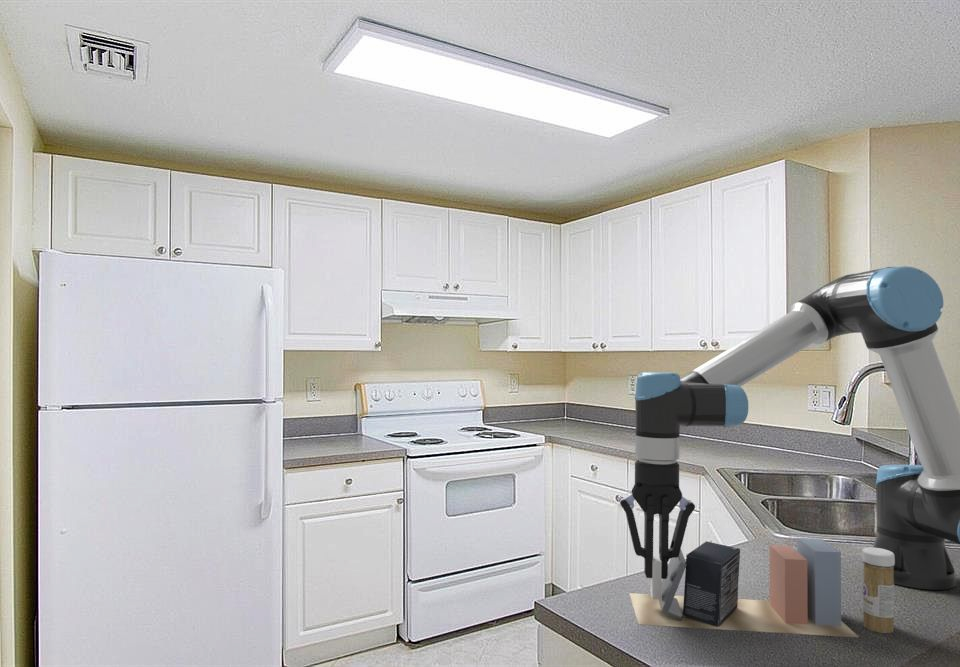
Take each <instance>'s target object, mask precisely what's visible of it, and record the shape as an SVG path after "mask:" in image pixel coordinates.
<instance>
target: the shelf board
mask: <svg viewBox="0 0 960 667" xmlns="http://www.w3.org/2000/svg"><path fill="white" fill-rule="evenodd" d="M628 594H629V597H630V600H631V604H632V606H633V610H634V613H635V617H636V621H637V623H638V625H641V626H655V627H656V626H659V627H673V628H674V627H675V628H690V629H691V628H692V629H693V628H694V629H709V630H726V631H740V632H741V631H743V632H757V633H758V632H760V633H774V634H775V633H776V634H794V635H808V636H809V635H810V636H827V637H842V638H843V637H845V638H859V635H858V634H856V633H855V632H854V631H853V630H852V629H851V628H850V627H848V625H847V624H845V623H844V622H843V621H842V620H841V626H827V625H815V624H814V623H813V622H812V621H811V620H810V618H809V617H808V624H792V623H785V622H784V621H783V620H782V619H781V617H780V616H779V615H778V614H777V613H776V612H775V610H774V609H773V608H772V607H771V606H770V600H767V599H766V600H765V599H764V600H763V599H745V598H742V599H741V598H738V605H737V606H738V607H737V608H736V609H735V610H734V612H733V613H732V614H731V615H730V616H729V617H728V618H727V619H726V620H725V621H724V622H723V623H722V624H721V625H720V626H719V627H718V626H715V625H711V624H708V623H705V622H702V621H699V620H696V619H693V618H690V617H687V616H684V615H683V605H684V595H675V596H674V598H676V599H677V600H678V603H679V606H680V610H681V613H682V617H683V619H682V621H681V620H679V619H676V618H674V617H672V616H670V615H667V614H665V613H663V612H661V608H660V603H659V600H656V599H652V597H651V594H650V593H634V592H631V593H630V592H629V593H628Z"/></svg>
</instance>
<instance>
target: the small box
mask: <svg viewBox="0 0 960 667" xmlns="http://www.w3.org/2000/svg"><path fill="white" fill-rule="evenodd" d="M685 558H686V559H685V561H686V564H687V565H686V568H685V570H684V572H685V573H684V574H685V575H684V576H685V577H684V589H683V590H684V591H683V592H684V593H683V596H684V605H683V615H684V616H687V617H690V618H693V619H696V620H699V621H702V622H705V623H708V624H711V625H715V626H718V627H719V626H720V625H721V624H722V623H723V622H724V621H725V620H726V619H727V618H728V617H729V616H730V615H731V614H732V613H733V612H734V610H735V609H736V608H737V607H738V606H737V605H738V599H739V598H738V597H739V576H740V573H739V572H740V563H741V562H740V559H741V548H739V547H734V546H731V545H730V546H729V545H724V544H721V543H715V542H712V541H707V540H705V541H704V542H703V543H702V544H700V545H699V546H697V547H695V549H693V550H692V551H690V552H689V553H688V554H686V556H685Z"/></svg>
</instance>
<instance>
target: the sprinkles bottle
mask: <svg viewBox="0 0 960 667" xmlns="http://www.w3.org/2000/svg"><path fill="white" fill-rule="evenodd" d="M861 560H862V563H863V583H862V584H863V585H862V586H863V587H862V589H863V590H862V595H863V597H862V598H863V599H862V610H863V618H862V620H863V627H865V628H866V629H867V630H870V631H873V632H877V633H883V634H891V633H893V632H894V630H895V629H894V621H895V620H894V618H895V584H894V581H893V580H894V579H893V578H894V577H893V575H894V574H893V573H894V571H893V568H894V565H895V556H894V553H893V552H891V551H889V550H885V549H881V548H873V546H872V547H871V546H869V547H864V548H862V550H861Z"/></svg>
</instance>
